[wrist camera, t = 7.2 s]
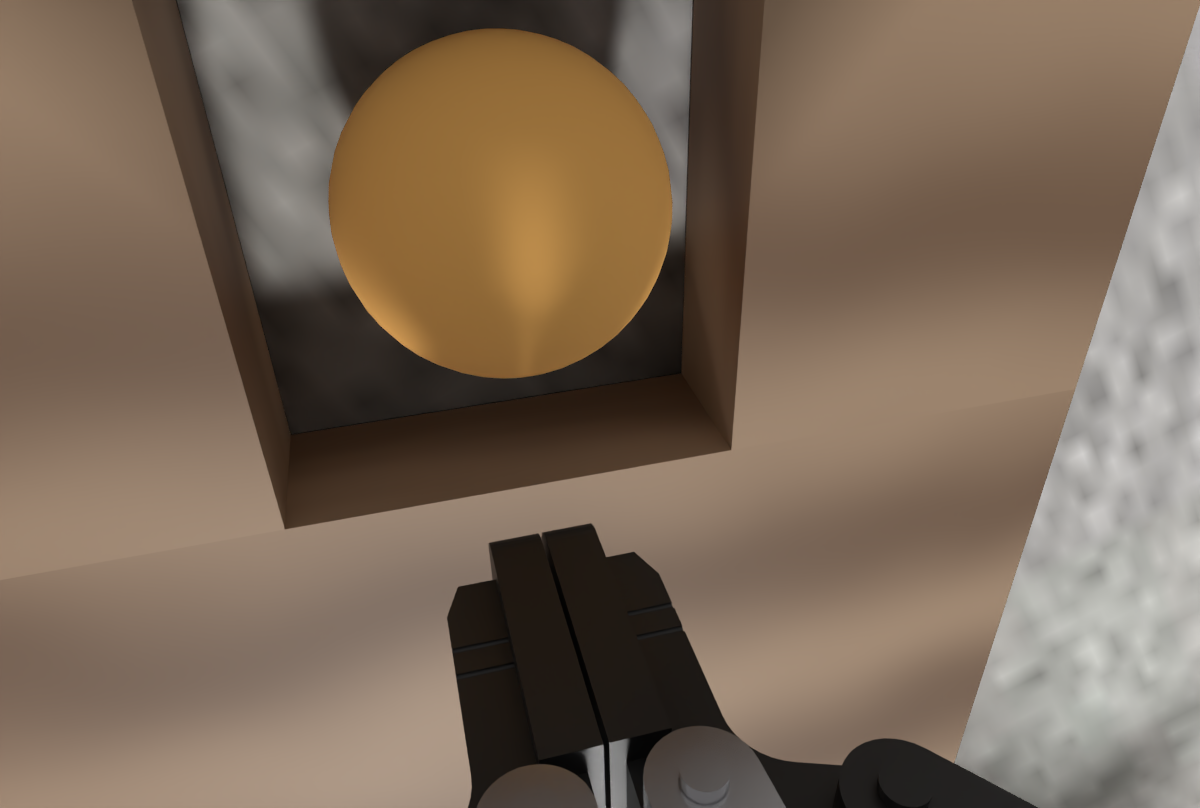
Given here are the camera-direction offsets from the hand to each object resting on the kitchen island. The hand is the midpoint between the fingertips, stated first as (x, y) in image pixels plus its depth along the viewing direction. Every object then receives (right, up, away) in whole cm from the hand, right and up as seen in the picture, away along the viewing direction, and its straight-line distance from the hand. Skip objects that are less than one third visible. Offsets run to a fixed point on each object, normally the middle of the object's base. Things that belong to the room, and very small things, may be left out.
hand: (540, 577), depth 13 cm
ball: (0, +5, -1) cm, 5 cm away
